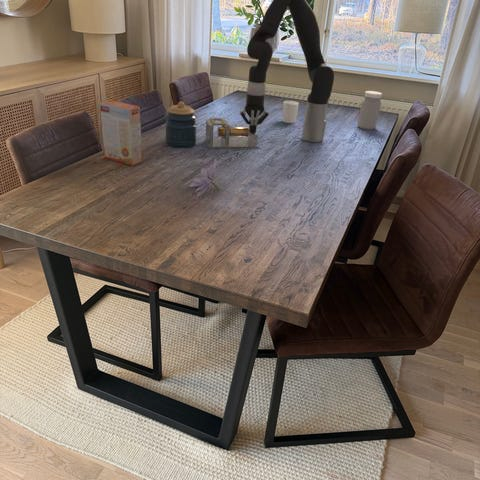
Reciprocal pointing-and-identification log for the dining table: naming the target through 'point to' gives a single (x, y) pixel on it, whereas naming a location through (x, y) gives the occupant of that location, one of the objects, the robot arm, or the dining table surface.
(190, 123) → the canister
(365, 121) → the jar
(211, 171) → the water lily
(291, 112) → the white cup
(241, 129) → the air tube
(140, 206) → the dining table surface
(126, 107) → the cracker box
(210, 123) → the collar stand
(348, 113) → the dining table surface
